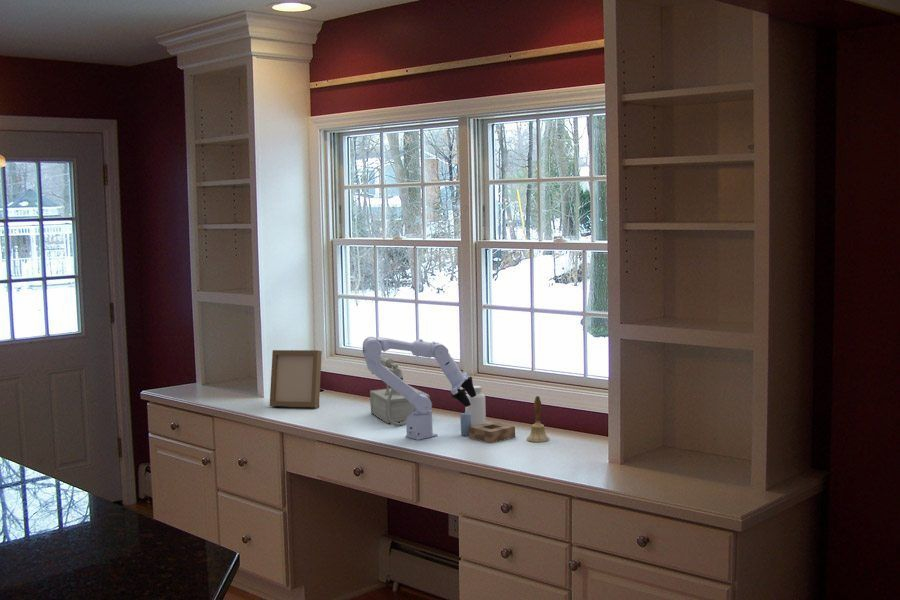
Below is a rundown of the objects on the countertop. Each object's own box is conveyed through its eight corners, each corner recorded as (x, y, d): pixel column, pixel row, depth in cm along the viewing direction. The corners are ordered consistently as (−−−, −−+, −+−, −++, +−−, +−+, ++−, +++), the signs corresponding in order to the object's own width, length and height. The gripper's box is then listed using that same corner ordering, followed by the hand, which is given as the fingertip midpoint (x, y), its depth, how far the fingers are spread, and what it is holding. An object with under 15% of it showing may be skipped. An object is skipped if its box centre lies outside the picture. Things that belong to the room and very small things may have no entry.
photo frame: (314, 409, 424) (312, 352, 422) (269, 408, 431) (266, 351, 429) (328, 402, 438) (326, 347, 436) (284, 401, 445) (282, 347, 443)
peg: (465, 436, 363) (465, 415, 363) (458, 435, 367) (458, 414, 366) (474, 435, 366) (473, 413, 365) (467, 433, 369) (466, 412, 368)
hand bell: (551, 437, 358) (550, 394, 356) (547, 442, 350) (546, 398, 348) (529, 436, 360) (527, 394, 358) (524, 442, 352) (523, 398, 351)
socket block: (490, 443, 353) (490, 432, 352) (469, 437, 362) (468, 427, 361) (515, 437, 360) (514, 426, 360) (493, 432, 369) (493, 421, 369)
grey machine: (436, 422, 390) (433, 360, 387) (387, 428, 382) (384, 365, 380) (409, 408, 420) (407, 350, 417) (363, 413, 412) (360, 354, 410)
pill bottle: (489, 425, 381) (488, 387, 380) (470, 427, 378) (468, 389, 377) (481, 421, 389) (479, 384, 387) (462, 423, 386) (461, 386, 384)
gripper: (454, 376, 359) (474, 406, 361) (466, 359, 372) (484, 388, 374) (439, 383, 362) (459, 413, 364) (451, 366, 375) (470, 395, 377)
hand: (471, 401), depth 369 cm, fingers open, 7 cm apart
